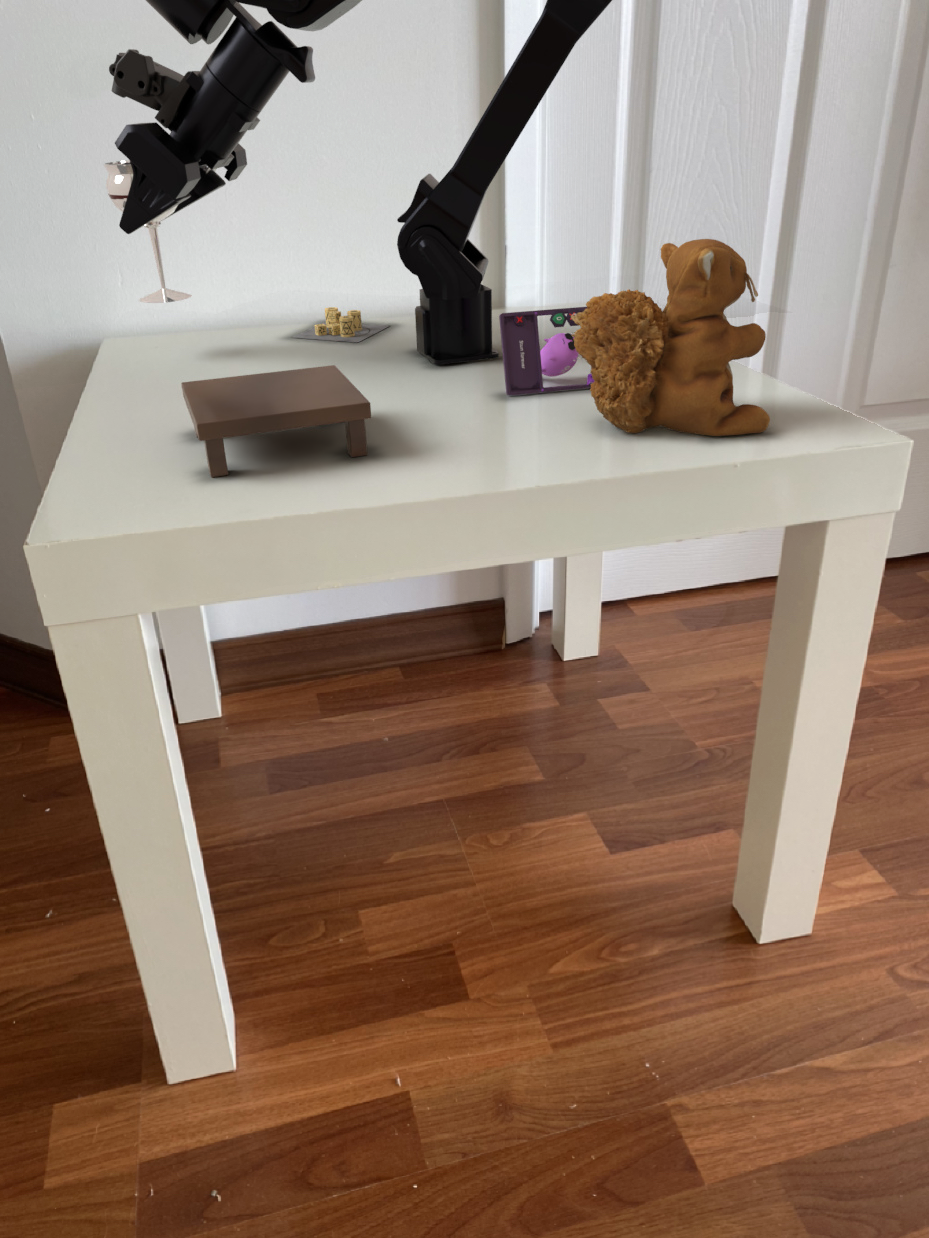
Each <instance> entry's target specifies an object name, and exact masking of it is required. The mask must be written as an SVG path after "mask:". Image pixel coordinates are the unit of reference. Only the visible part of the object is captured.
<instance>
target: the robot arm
mask: <svg viewBox="0 0 929 1238" xmlns="http://www.w3.org/2000/svg"><path fill="white" fill-rule="evenodd" d="M145 1H146V2H147V3H148V4H149V5H150V6H151V8H153V9H154V10H155V11H156V12H157V13H158V14H159V15H160V16H161V17H162V18H163V19H164V20H165V21H166V22H167V23H168V24H169V25H170V26H171V27H172V28H173V29H174V30H175V31H176V32H177V33H178V34H179V36H181V37H182V38H183V39H184V40H185V41H187V43H188V44H190V45H195V44H197V43H198V42H199V41H201V40H202V41H203V42H204V43H205V44H206V45H208V46H209V45H211V44H213V43H215V42H216V41H217V40H218V39H219V38H220V36H222V34H223V33H224V34H223V36H222V38H221V39H220V40H219V42H218V44H217V45H216V47H215V48H214V50H213V51H212V52H211V54H210V55H209V57H208V59H207V60H206V62H205V63H204V64H203V66H202V67H201V68H200V70H189V71H186V73H185V74H184V75H183V74H181V73H180V72H178V71H176V70H174V69H171V68H169V67H167V66H165V65H163V64H160V63H159V62H157V61H154V59H153V57H152V56H151V55H145V54H142V53H140V51H139V50H138V49H134V48H133V49H131V48H128V50H126V52H118V54H116V56H115V60H114V62H113V63H111V64H110V65H109V67H108V72H109V74H110V75H111V76H112V77H113V81H112V86H111V92H112V93H113V94H114V95H116V96H118V97H120V98H123V99H124V98H128V99H130V100H133V101H135V102H137V103H139V104H141V105H143V106H145V107H148V108H150V109H152V110H155V111H158V112H157V113H156V115H155V116H154V119H155V120H156V121H157V122H158V123H157V122H138V123H130V124H126V125H125V126H124V128H123V129H122V131H121V132H120V134H119V135H118V137H117V138H116V140H115V141H114V145H115V147H116V149H117V150H118V152H119V151H120V153H122V154H123V155H124V157H126V158H127V160H130V164H131V167H132V170H133V178H132V182H131V186H130V190H129V193H128V197H127V200H126V203H125V207H124V210H123V212H122V214H121V217H120V220H119V224H118V227H119V228H120V229H121V230H122V231H123V232H124V233H125V234H127V235H131V234H132V233H134V232H136V231H138V230H139V229H141V228H143V227H144V225H146V224H147V223H149V222H151V221H152V220H154V219H155V218H157V217H159V216H160V215H162V214H163V213H165V212H167V211H168V210H170V209H172V208H173V207H175V206H177V205H178V204H179V205H178V206H177V208H176V209H175V211H174V212H173V213H172V214H171V215H170V216H168V217H167V218H165V219H164V220H166V219H168V218H170V217H171V216H174V215H175V214H177V213H178V212H180V211H182V210H183V209H186V208H187V207H190V206H191V205H192V204H194V203H196V202H198V201H200V200H201V199H203V198H205V197H207V196H208V195H210V194H213V192H215V191H217V190H219V189H221V188H223V187H224V186H226V185H227V183H226V181H225V179H226V180H227V181H228V182H232V181H234V180H237V179H238V178H239V176H240V175H241V174H242V173H243V171H244V170H245V168H246V167H247V166H248V160H247V158H248V157H247V151H246V149H245V148H244V147H243V146H242V144H240V142H241V140H242V139H243V137H244V136H245V135H246V133H247V132H248V131H252V130H255V129H256V127H257V126H258V125H259V124H260V121H261V119H260V118H259V115H260V114H261V112H263V109H264V108H265V107H266V105H267V104H268V102H269V101H270V99H272V97H273V96H274V94H275V93H276V91H277V90H278V89H279V88H280V86H281V84H282V83H283V82H284V80H285V79H286V77H287V76H288V75H289V73H291V74H292V75H293V77H294V78H296V79H297V81H299V82H300V83H302V84H304V83H305V84H306V83H308V84H309V83H314V82H315V80H316V74H315V68H314V64H313V55H314V48H313V47H312V46H309V45H303V46H297V44H295V42H294V41H292V40H291V38H290V37H288V35H287V34H286V33H284V31H283V30H282V29H281V28H279V26H278V25H277V24H276V23H275V22H277V23H278V24H280V25H282V26H284V27H286V28H288V29H292V30H299V31H305V32H318V31H322V30H324V29H325V28H327V27H329V26H330V25H331V24H333V23H334V22H336V21H337V20H339V19H340V18H341V17H343V16H344V15H345V14H347V13H349V12H350V11H351V10H353V9H354V8H355V7H356V6H358V5H359V4H360V3H361V2H362V1H363V0H145ZM612 2H613V0H546V3H545V5H544V7H543V10H542V12H541V15H540V17H539V18H538V20H537V22H536V23H535V25H534V27H533V28H532V30H531V32H530V34H529V35H528V37H527V38H526V40H525V42H524V44H523V46H522V47H521V49H520V51H519V52H518V54H517V56H516V58H515V60H514V61H513V63H512V64H511V66H510V68H509V70H508V71H507V73H506V75H505V77H504V78H503V80H502V81H501V83H500V85H499V87H498V88H497V90H496V92H495V94H494V95H493V96H492V98H491V101H490V102H489V104H488V105H487V107H486V109H485V111H484V113H482V115H481V117H480V119H479V121H478V122H477V124H476V126H475V127H474V129H473V131H472V133H471V135H470V136H469V138H468V140H467V142H466V143H465V145H464V146H463V148H462V150H461V152H460V153H459V155H458V157H457V159H456V160H455V162H454V163H453V165H452V167H451V168H450V169H449V170H448V171H447V173H446V174H445V175H444V176H443V178H442V179H441V180H440V181H438V180H437V179H436V177H434V176H433V175H432V173H428V174H426V175H425V176H424V177H423V178H421V179H420V181H419V183H418V185H417V188H416V190H415V192H414V195H413V198H412V200H411V203H410V205H409V207H408V208H407V209H406V210H405V211H404V212H403V213H402V214H401V215H400V216H399V217H398V218H397V219H396V221H397V223H400V224H403V223H404V224H403V225H402V226H401V228H400V230H399V233H398V235H397V242H396V246H397V250H398V255H399V258H400V261H401V262H402V264H403V266H404V267H405V268H406V269H407V270H408V271H409V272H410V273H411V274H413V275H414V276H416V277H417V279H418V281H419V283H420V287H421V288H420V289H419V305H417V306H416V307H415V308H414V318H415V338H416V351H417V352H418V353H420V354H421V355H422V356H424V357H425V358H426V359H427V360H429V361H430V362H431V363H432V364H434V365H439V366H441V365H448V364H449V365H450V364H457V363H466V362H473V361H474V362H475V361H483V360H492V359H498V358H499V357H500V354H499V353H500V352H498V351H497V350H496V349H494V348H493V294H492V293H493V291H492V290H493V289H492V288H490V287H489V286H487V285H484V284H482V282H483V280H484V277H485V274H486V271H487V268H488V265H489V259H488V257H487V256H486V255H484V253H483V252H481V251H480V249H479V248H478V247H477V246H476V245H475V244H474V243H473V242H472V241H470V239H469V237H470V235H471V232H472V229H473V227H474V225H475V222H476V220H477V217H478V214H479V212H480V209H481V207H482V204H483V201H484V198H485V196H486V194H487V192H488V188H489V186H490V185H491V183H492V182H493V180H494V179H495V178H496V177H495V176H496V175H497V173H499V170H500V168H501V167H502V165H503V164H504V162H505V160H506V158H507V157H508V155H509V154H510V152H511V150H512V149H513V147H514V145H516V142H517V140H518V139H519V137H520V135H521V134H522V132H523V130H524V129H525V128H526V126H527V124H528V123H529V121H530V120H531V117H532V116H533V114H534V113H535V111H536V110H537V108H538V106H539V104H540V102H541V101H542V99H543V98H544V97H545V94H546V93H547V91H548V89H549V88H550V87H551V85H552V83H553V82H554V80H555V78H556V77H557V75H558V74H559V72H560V70H561V68H562V67H563V65H564V64H565V62H566V60H567V58H568V57H569V55H570V54H571V52H572V50H573V49H574V47H575V46H576V44H577V43H578V41H579V40H580V39H581V38H582V37H583V35H585V33H586V32H587V31H588V30H589V29H590V28H591V26H592V25H593V24H594V23H595V22H596V20H597V19H598V18H599V17H600V16H601V14H602V13H603V12H604V11H605V10H606V8H607V7H608V6H609V5H610V4H611V3H612ZM242 4H243V5H247V6H252V7H257V8H262V9H266V11H267V12H268V14H269V15H270V17H272V18H273V19H274V20H275V22H274V21H272V20H268V21H266V22H265V23H263V24H261V23H260V22H259V21H258V20H257V19H256V18H255V17H254V16H253V15H252V14H251V13H250V12H249V11H248V10H247V9H245V7H244V6H243V5H242ZM233 17H235V18H234V20H233V21H232V19H233ZM231 21H232V23H231ZM230 23H231V24H230ZM229 25H230V26H229ZM226 29H227V30H226ZM225 31H226V32H225ZM164 128H165V129H168V130H169V131H170V133H169V132H167V131H166V130H165V129H164ZM220 168H224V169H225V170H226V171H225V174H224V178H222V177H221V176H220V175H219V174H218V173H217V172H216V171H217V169H220ZM164 220H162V221H161V222H163V221H164Z"/></svg>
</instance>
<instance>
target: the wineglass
mask: <svg viewBox="0 0 929 1238" xmlns="http://www.w3.org/2000/svg"><path fill="white" fill-rule="evenodd" d="M102 165H103V167H104V168H105V169H106V171H107V173H108V176H107V178H106V190H107V195H108V197H109V199H110V200H111V202H112V204H113V205H114V206H115V208H117V209H118V210H119V211H120V212H122V213H123V210H124V207H125V203H126V200H127V197H128V193H129V190H130V186H131V182H132V178H133V170H132V167H131V164H130V160H129V159H127V160H118V161H117V160H116V161H109V162H104V163H102ZM178 205H179V204H178ZM178 205H177V206H178ZM177 206H175V207H173V208H172V209H170V210H168V211H167V212H165V213H163V214H162V215H160V216H159V217H157V218H155V219H154V220H152V221H151V222H149V223H147V224H146V225H144V226H143V227H144V228H145V229H148V233H149V238H150V242H151V247H152V251H153V255H154V260H155V264H156V269H157V274H158V277H159V282H160V287H161V288H159V289H158V290H156V291H154V292H151V293H149V294H147V295H144V296H143V297H140V298H139V299H138V301H139V302H141V303H145V304H165V303H166V304H167V303H172V302H178V301H180V302H181V301H184V300H187V299H190V298H191V297H192V294H191V293H188V292H184V291H180V290H175V289H171V288H170V289H169V288H167V286H166V281H165V274H164V266H163V259H162V253H161V245H160V239H159V231H158V228H159V227H161V225H162V222H163V221H165V220H166V219H168V218H169V217H168V216H170V215H171V214H172V213H173V212H174V211H175V209H176V208H177ZM171 216H172V215H171ZM171 216H170V217H171ZM167 217H168V218H167ZM165 218H166V219H165ZM162 220H163V221H162Z"/></svg>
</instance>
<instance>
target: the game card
mask: <svg viewBox="0 0 929 1238" xmlns="http://www.w3.org/2000/svg"><path fill="white" fill-rule="evenodd" d="M585 309H587V306H579V307H578V306H577V307H576V306H575V307H565V308H564V307H563V308H553V309H551V308H550V309H538V310H526V311H525V310H524V311H514V312H513V311H512V312H502V313H500V314H499V318H498V320H499V330H500V331H499V332H500V342H501V351H502V361H503V372H504V374H503V375H504V382H505V383H504V384H505V393H506V395H507V396H520V395H531V394H539V393H540V394H541V393H551V392H560V391H570V390H572V391H573V390H581V389H591V384H592V383H593V382H594V379H593V378H592V375H591V373H588V374H587V375H586V376H587V377H586V383H578V384H567V385H557V386H556V385H555V386H546V387H545V386H544V380H543V376H546V377H552V378H553V377H558V376H559V377H560V376H562V375H564V374H566V373H568V372H569V371H571V370H572V369H573V368H574V366H575V365H576V364H577V362H578V360H581V358H582V357H579V356H580V355H579V353H578V352H577V351H576V348H575V346H574V340H573V339H574V337H573V336H572V335H573V334H574V332H571V333H569V332H559V333H556V334H554V335H553V336H552V337H549V338H544V339H543V341H544V342H545V343H546V344H545V345H544V346H543V347H542V348H541V346H540V345H541V344H540V333H539V332H540V331H539V320H538V317H541V316H550V318H549V321H550V323H551V324H552V326H553V328H564V327H565V325H566V323H567V324H568V325H569V326H570V327H580V325H577V324H576V323H575V322H574V321H573V320H572V319H571V315H574V316H575V315H576V314H577V313H580V312H581V313H582V312H584V310H585Z"/></svg>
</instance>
